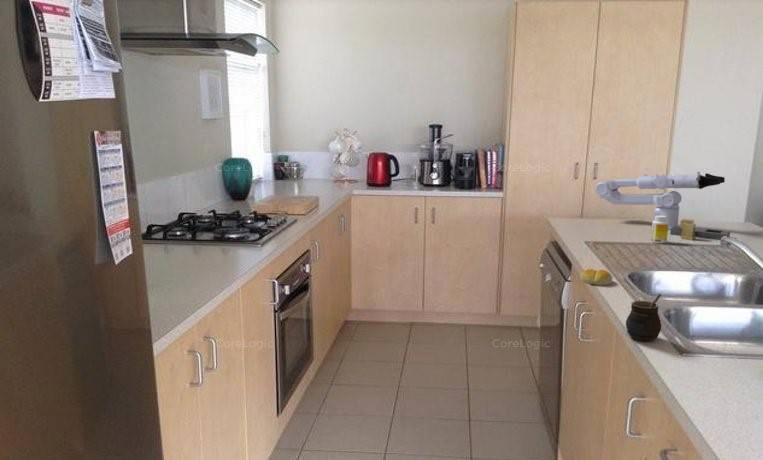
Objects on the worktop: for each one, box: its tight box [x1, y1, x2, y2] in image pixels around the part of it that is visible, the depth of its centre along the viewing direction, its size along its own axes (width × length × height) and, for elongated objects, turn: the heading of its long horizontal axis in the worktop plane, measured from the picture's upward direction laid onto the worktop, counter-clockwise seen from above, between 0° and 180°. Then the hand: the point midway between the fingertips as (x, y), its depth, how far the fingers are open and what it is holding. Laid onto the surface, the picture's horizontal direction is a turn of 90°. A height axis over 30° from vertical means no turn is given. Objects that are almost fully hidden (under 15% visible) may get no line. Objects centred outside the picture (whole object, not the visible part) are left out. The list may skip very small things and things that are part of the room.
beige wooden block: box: [679, 218, 695, 229], centre depth 244 cm, size 4×4×6 cm
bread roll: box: [579, 268, 613, 286], centre depth 178 cm, size 8×9×4 cm
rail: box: [669, 225, 731, 241], centre depth 241 cm, size 20×8×2 cm, turn 49°
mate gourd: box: [625, 293, 662, 342], centre depth 133 cm, size 7×8×10 cm
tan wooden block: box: [680, 223, 697, 241], centre depth 235 cm, size 4×4×6 cm
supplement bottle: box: [650, 216, 669, 244], centre depth 230 cm, size 6×6×10 cm
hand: (722, 180), depth 242 cm, fingers open, 7 cm apart
